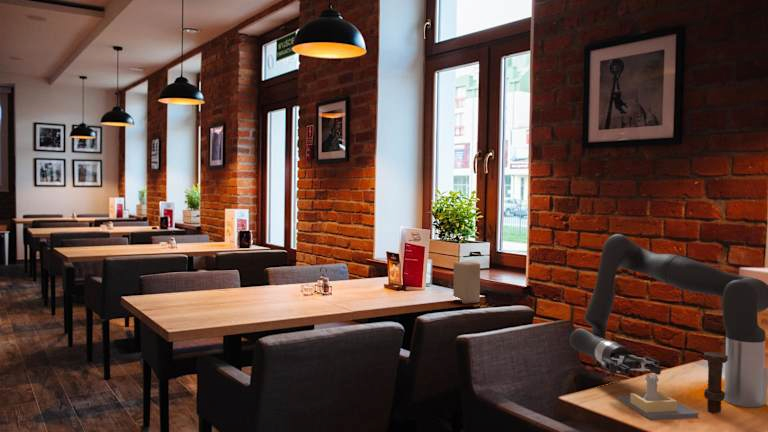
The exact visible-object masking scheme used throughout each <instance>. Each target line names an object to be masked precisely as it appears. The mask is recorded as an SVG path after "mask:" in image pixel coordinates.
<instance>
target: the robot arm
mask: <svg viewBox="0 0 768 432" xmlns="http://www.w3.org/2000/svg"><path fill="white" fill-rule="evenodd" d="M619 268H620V269H623V270H627V271H631V272H635V273H640V274H643V275H647V276H649V277H651V278H653V279H654V280H657V281H660V282H662V283H664V284H666V285H669V286H672V287H674V288H677V289H680V290H683V291H687V292H692V293H695V294H703V295H704V294H705V295H710V296H716V297H719V298H722V325H723V326H724V330H725V355H727V356H728V361H727V362H726V363H724V391H723V392H724V393H725V398H724V400H723V401H725V402H727V403H729V404H732V405H733V406H734V405H735V406H739V407H745V408H759V407H763V406H766V405H768V404H767V403H768V368H766V367H765V366H766V363H765V362H766V361H765V359H766V357H765V356H766V330H765V329H764V328H762V327H760V325H759V321H758V313H760V312H763V311H765V310H768V284H767V283H766V282H765V281H763V280H762V279H759V278H757V277H756V278H755V277H751V276H746V275H745V276H744V275H741V274H740V275H739V274H737V273H731V272H728V271H724V270H721V269H718V268H716V267H714V266H711V265H709V264H705V263H702V262H700V261H697V260H695V259H691V258H688V257H685V256H683V255H682V256H681V255H678V254H674V253H663V254H662V253H661V254H660V253H655V252H653V251H650V250H647V249H645V248H643V247H641V246H640V245H638V244H637V243H635V242H634V241H633V240H631V239H630V238H628V237H627V236H625V235H624V234H622V233H615V234H613V235H611V236H610V237H608V238H607V239H606V241H605V242H604V245H603V247H602V251H601V257H600V262H599V266H598V271H597V277H596V282H595V285H594V288H593V292H592V295H591V298H590V301H589V303H588V306H587V309H586V311H585V314H584V321H585V322H586V323H587V324H589V325H590V326H591V328H592V329H591V330H590V331H589V330H588V329H585V328H582V327H579V328H576V329H575V330H573V331H572V332H571V334H570V336H569V343H570V346H571V347H572V348H573V349H574V350H576V351H578V352H580V353H582V354H585V355H586V356H588V357H591V358H593V360H595V361H596V362H599V364H601V367H602V368H603V369H605V370H607V372H609V373H614V372H615V373H618V374H623V375H624V376H627V377H629V376H631V371H638V372H644V371H647V372H651V373H652V374H655V375H657V376H659V375H661V372H662V367H661V366H659V360H656V359H654V358H652V357H650V356H647V355H644V356H643V357H638V356H636V355H634V354H633V352H632V350H630V348H628V347H626V346H624V345H622V344H619V343H618V342H616V341H612V340H609V339H607V338H606V336H607V325H608V322H609V319H610V317H611V313H612V311H613V308H614V304H615V297H616V294H615V291H616V290H615V289H616V288H615V287H616V285H615V283H616V275H617V272H618V269H619ZM640 365H641V367H640Z"/></svg>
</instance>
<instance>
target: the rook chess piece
mask: <svg viewBox="0 0 768 432" xmlns="http://www.w3.org/2000/svg"><path fill="white" fill-rule="evenodd" d="M645 380H646V383H645V384H646V391H645V394H643V395H644V396H645V397H644V398H643V399H645V400H647V401H660V399H659V397H658V395H657V392H658V382H659V378H658V375H657V374H655V373H647V374H646V376H645Z"/></svg>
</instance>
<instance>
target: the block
mask: <svg viewBox="0 0 768 432" xmlns="http://www.w3.org/2000/svg"><path fill="white" fill-rule="evenodd" d="M452 288H453V291H452V292H453V293H452V294H453V295H452V296H455V297H458V298H460V299H462V303H461V304H475V303H479V302H480V300H481V299H480V298H481V297H480V296H481V295H480V293H481V264H480V263H479V262H474V261H469V260H468V261H467V260H466V261H454V263H453V287H452Z"/></svg>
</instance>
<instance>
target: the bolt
mask: <svg viewBox="0 0 768 432" xmlns="http://www.w3.org/2000/svg"><path fill="white" fill-rule="evenodd" d="M703 360H704V361H707V367H708V368H707V388H705V389H704V392H703V397H704V398H705V399H707V403H706V405H707V407H706V409H707V412H708V413H711V414H719V413H721V411H722V401H725V400H724V398H725V393H724V391H723V390H722V388H723V387H722V386H723V385H722V381H723V367H724V366H723V365H724V364H725V363H726V362H727V361H728V356H727V355H726V353H723V352H717V351H706V352H704V353H703Z"/></svg>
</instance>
